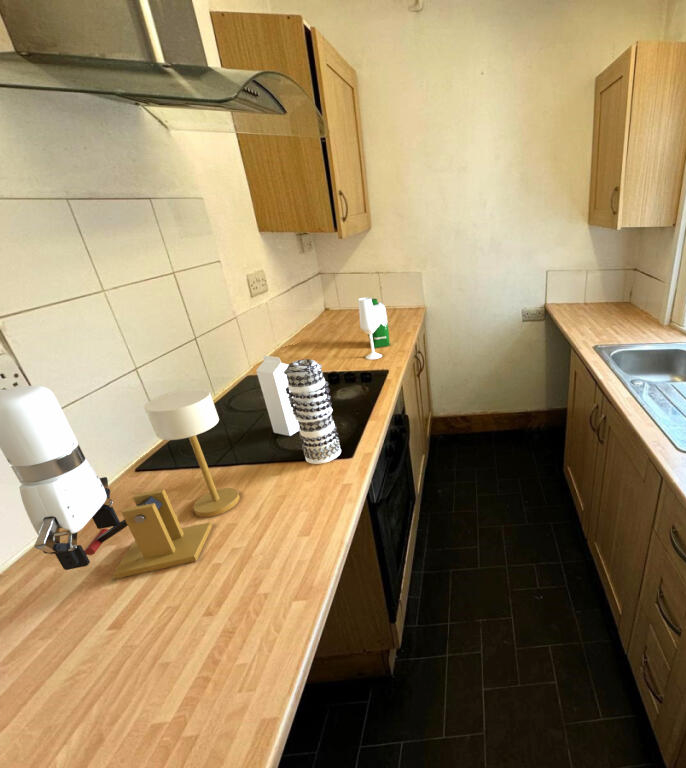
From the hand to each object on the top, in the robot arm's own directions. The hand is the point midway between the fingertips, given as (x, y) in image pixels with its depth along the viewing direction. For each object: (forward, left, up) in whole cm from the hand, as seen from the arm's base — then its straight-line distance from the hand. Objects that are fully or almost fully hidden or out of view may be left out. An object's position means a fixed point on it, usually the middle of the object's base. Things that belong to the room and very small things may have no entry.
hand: (94, 545), depth 72 cm
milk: (+24, +42, -5) cm, 49 cm away
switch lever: (+6, 0, +2) cm, 6 cm away
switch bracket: (+9, 0, -5) cm, 10 cm away
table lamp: (+14, +12, -5) cm, 19 cm away
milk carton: (+51, +112, -5) cm, 123 cm away
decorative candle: (+34, +25, -5) cm, 43 cm away
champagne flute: (+48, +97, -5) cm, 108 cm away
